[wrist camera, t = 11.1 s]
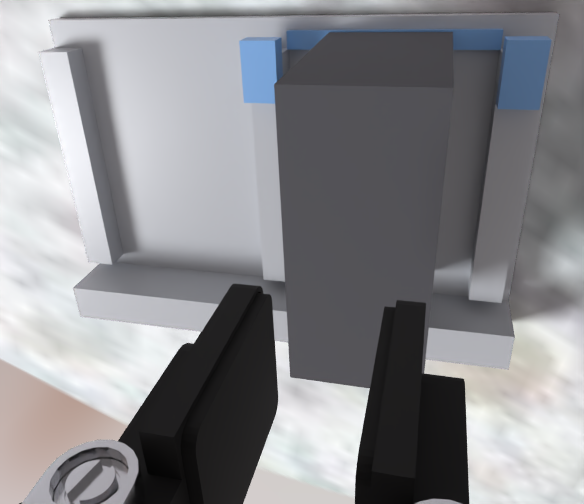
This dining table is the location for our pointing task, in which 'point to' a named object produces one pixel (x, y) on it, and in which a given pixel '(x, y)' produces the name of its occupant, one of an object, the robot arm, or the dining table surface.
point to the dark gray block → (360, 191)
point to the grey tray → (276, 162)
